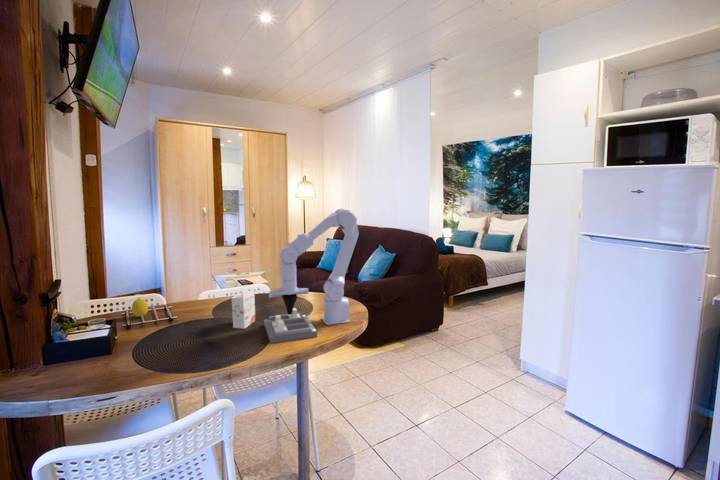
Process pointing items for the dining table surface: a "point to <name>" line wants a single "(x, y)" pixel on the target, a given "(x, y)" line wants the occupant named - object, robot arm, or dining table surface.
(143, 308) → the lemon
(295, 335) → the switch panel
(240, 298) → the ink cartridge box
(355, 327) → the dining table surface
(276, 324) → the tab
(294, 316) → the tab
